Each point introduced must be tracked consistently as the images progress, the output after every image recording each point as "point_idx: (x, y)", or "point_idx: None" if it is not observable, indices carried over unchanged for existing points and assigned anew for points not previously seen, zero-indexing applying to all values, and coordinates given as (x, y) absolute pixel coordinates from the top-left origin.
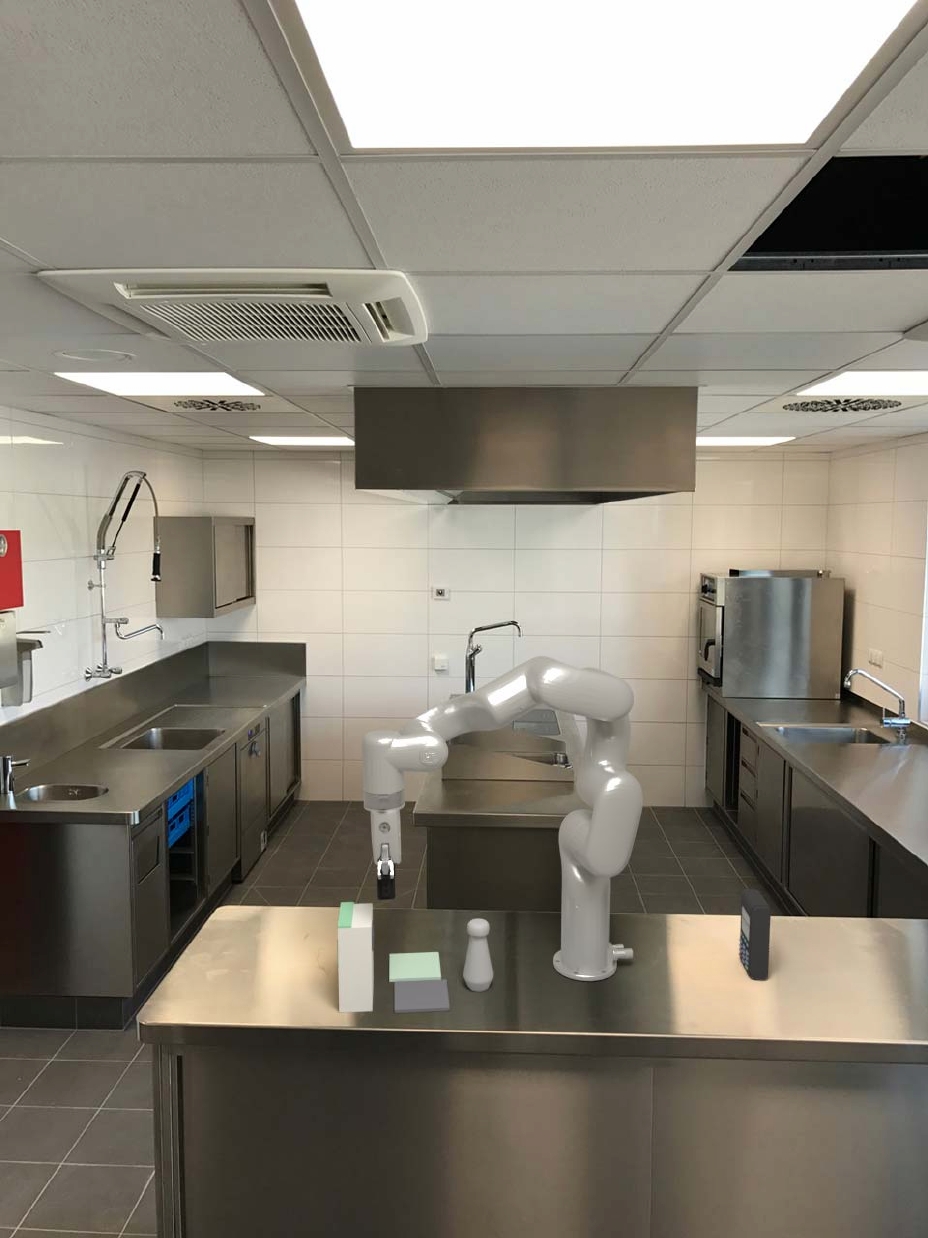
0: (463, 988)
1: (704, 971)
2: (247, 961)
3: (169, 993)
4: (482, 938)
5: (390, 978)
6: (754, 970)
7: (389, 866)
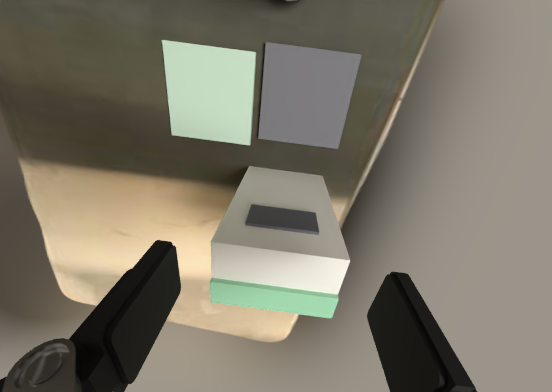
0: (293, 8)
1: None
2: (186, 286)
3: (241, 334)
4: None
5: (248, 143)
6: None
7: (149, 305)
